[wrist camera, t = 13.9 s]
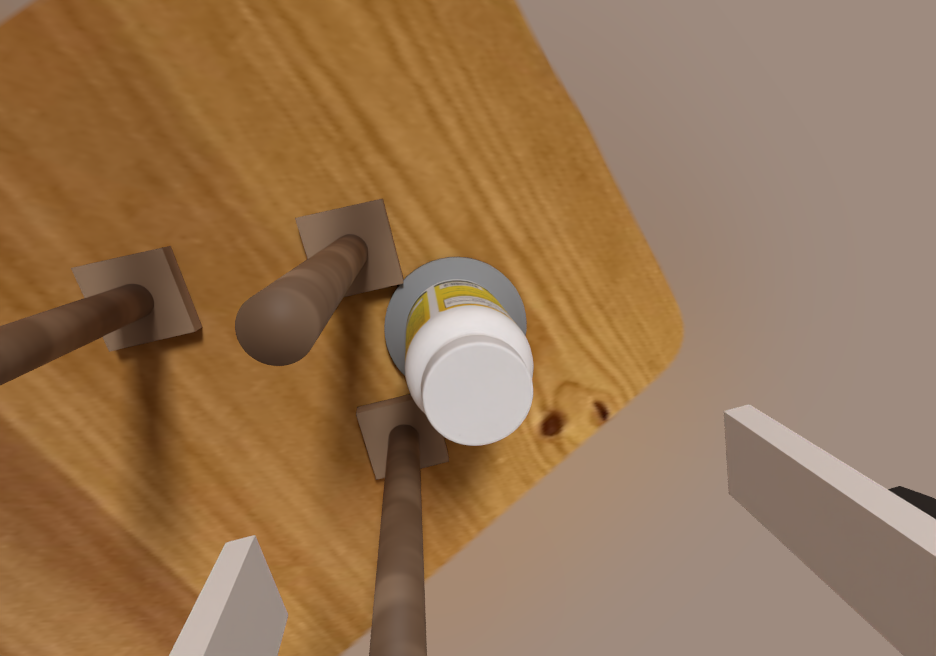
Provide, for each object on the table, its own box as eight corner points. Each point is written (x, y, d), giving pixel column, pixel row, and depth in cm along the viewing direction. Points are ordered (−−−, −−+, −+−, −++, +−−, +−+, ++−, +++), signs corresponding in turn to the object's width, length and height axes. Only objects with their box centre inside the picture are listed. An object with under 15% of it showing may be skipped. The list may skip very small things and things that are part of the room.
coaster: (404, 405, 32) (404, 409, 32) (368, 275, 30) (367, 276, 29) (534, 373, 33) (537, 376, 32) (510, 242, 30) (512, 243, 30)
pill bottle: (440, 389, 32) (453, 488, 21) (386, 311, 30) (371, 377, 19) (521, 339, 31) (576, 415, 21) (472, 258, 30) (505, 295, 19)
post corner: (324, 298, 30) (214, 437, 13) (298, 217, 28) (139, 256, 12) (403, 280, 30) (395, 393, 13) (382, 198, 29) (344, 210, 12)
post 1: (119, 346, 29) (-271, 555, 12) (82, 265, 28) (-414, 379, 11) (202, 327, 29) (-72, 506, 13) (170, 245, 28) (-185, 328, 11)
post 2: (377, 471, 33) (344, 752, 17) (357, 406, 32) (299, 644, 15) (448, 453, 34) (485, 713, 17) (431, 388, 32) (454, 602, 16)
